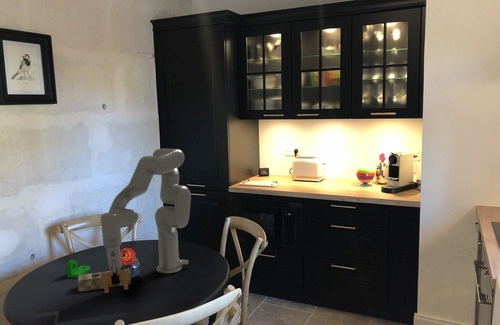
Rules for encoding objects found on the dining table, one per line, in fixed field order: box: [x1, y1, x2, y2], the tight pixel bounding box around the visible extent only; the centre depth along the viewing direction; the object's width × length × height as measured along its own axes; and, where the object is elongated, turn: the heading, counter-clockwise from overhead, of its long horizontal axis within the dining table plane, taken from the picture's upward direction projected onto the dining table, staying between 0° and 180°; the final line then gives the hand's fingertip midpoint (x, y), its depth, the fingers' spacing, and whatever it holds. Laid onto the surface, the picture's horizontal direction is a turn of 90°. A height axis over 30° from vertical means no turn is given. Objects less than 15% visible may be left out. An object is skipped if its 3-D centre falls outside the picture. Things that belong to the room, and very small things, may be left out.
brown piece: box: [101, 268, 130, 294], centre depth 179 cm, size 12×3×8 cm, turn 108°
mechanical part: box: [66, 259, 91, 279], centre depth 203 cm, size 12×6×8 cm, turn 170°
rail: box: [77, 268, 132, 292], centre depth 188 cm, size 22×7×5 cm, turn 108°
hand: (115, 282), depth 179 cm, fingers closed on brown piece, 3 cm apart
